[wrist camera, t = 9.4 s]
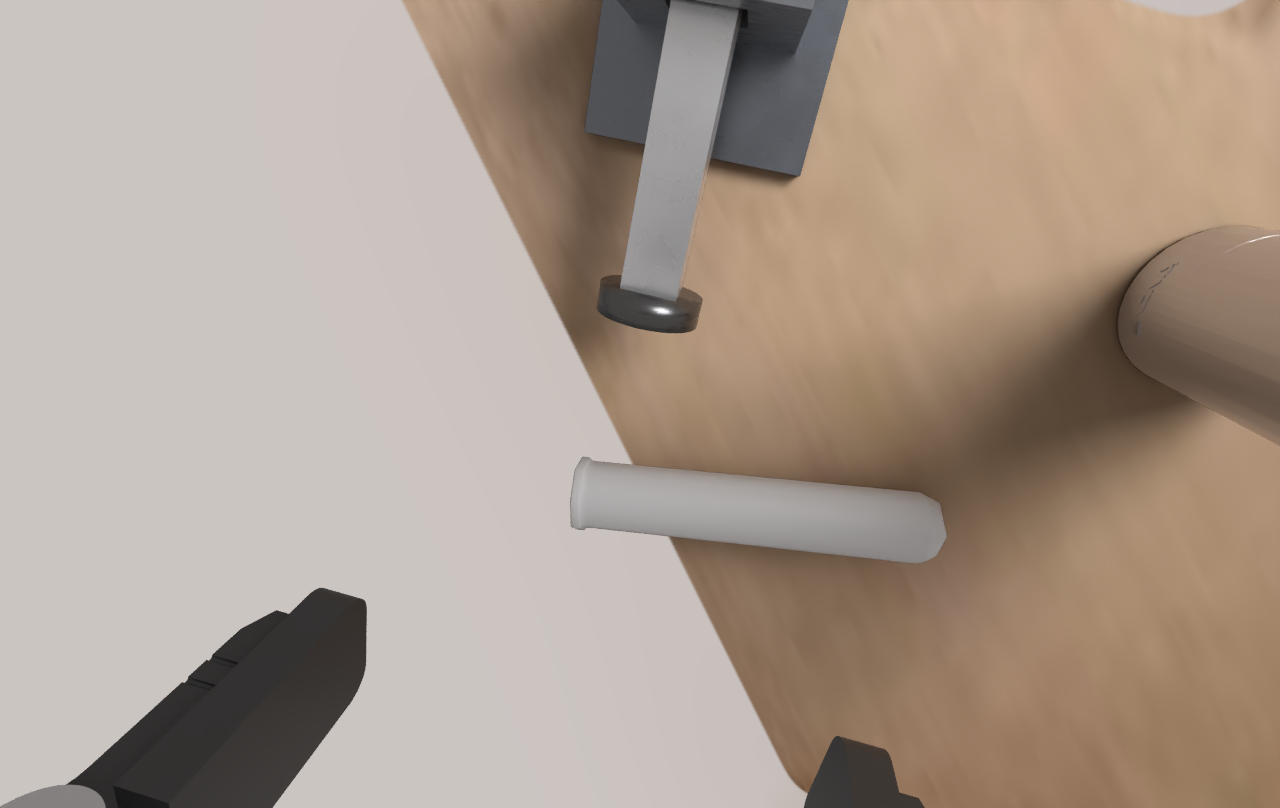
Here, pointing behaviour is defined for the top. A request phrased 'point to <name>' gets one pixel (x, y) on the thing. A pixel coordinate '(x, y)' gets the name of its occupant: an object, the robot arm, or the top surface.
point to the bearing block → (757, 84)
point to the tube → (757, 511)
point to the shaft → (674, 170)
